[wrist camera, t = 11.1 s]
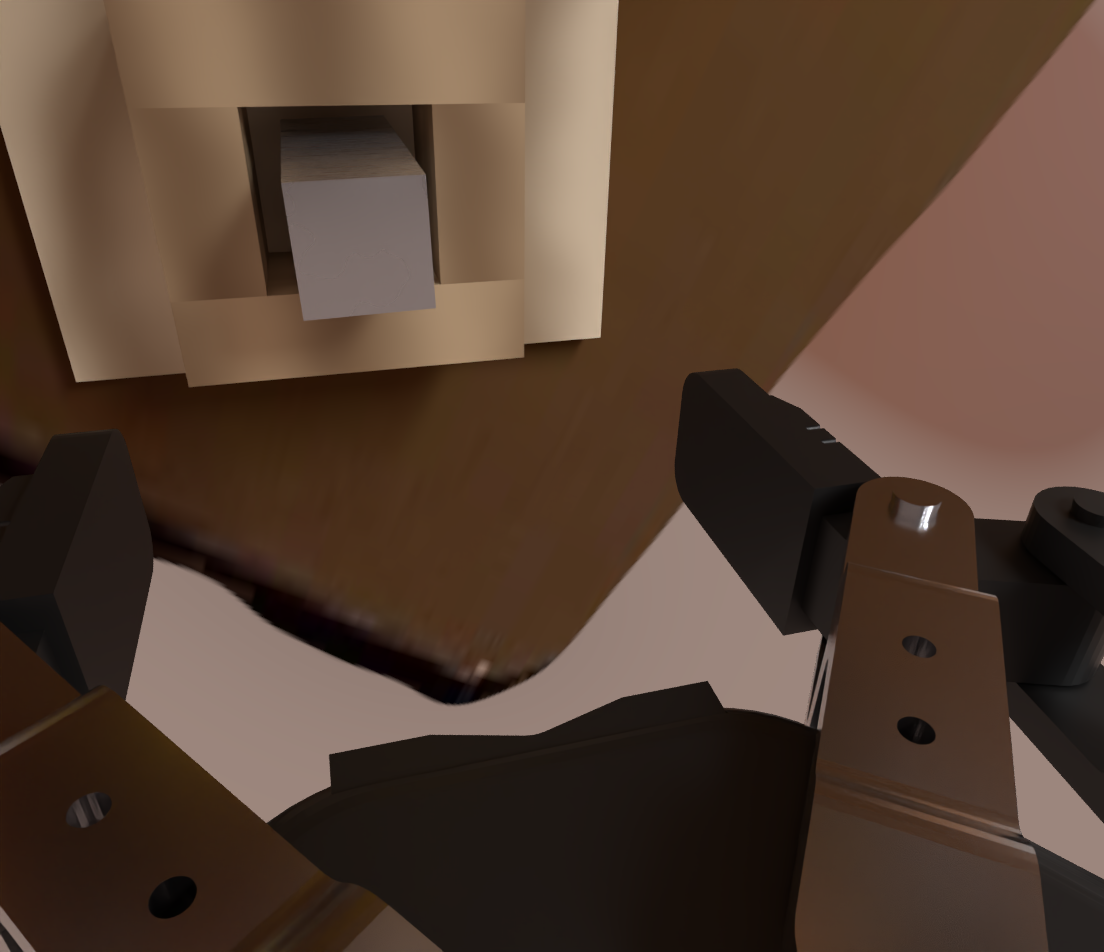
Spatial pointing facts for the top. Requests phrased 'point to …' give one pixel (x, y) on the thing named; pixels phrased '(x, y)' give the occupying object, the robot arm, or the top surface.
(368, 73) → the stone box on board
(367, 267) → the gray rectangular block
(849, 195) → the top surface
